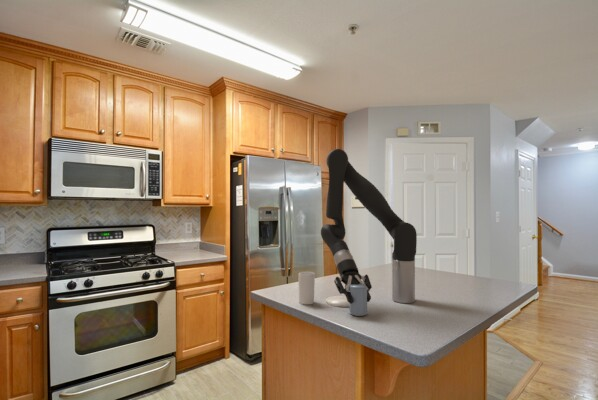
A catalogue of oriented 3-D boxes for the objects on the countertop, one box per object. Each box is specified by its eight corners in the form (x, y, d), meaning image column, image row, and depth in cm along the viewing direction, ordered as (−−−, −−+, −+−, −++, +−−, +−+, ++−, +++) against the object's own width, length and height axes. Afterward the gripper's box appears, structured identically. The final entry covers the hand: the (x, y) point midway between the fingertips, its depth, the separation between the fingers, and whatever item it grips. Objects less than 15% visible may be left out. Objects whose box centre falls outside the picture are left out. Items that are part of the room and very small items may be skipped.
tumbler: (355, 309, 124) (355, 282, 124) (369, 312, 120) (369, 285, 120) (346, 313, 119) (346, 285, 120) (361, 316, 115) (361, 288, 116)
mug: (316, 304, 132) (316, 274, 132) (299, 305, 130) (300, 275, 131) (310, 297, 141) (311, 270, 142) (295, 298, 140) (295, 270, 141)
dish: (337, 296, 144) (337, 294, 144) (363, 302, 135) (363, 299, 136) (319, 302, 134) (319, 300, 134) (346, 309, 126) (346, 306, 126)
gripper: (331, 259, 125) (346, 298, 113) (364, 257, 130) (381, 294, 118) (326, 270, 130) (339, 308, 118) (358, 268, 134) (373, 305, 123)
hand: (360, 301), depth 118 cm, fingers closed on tumbler, 6 cm apart
